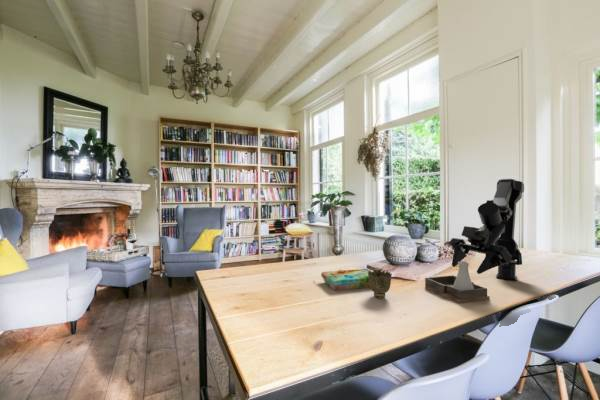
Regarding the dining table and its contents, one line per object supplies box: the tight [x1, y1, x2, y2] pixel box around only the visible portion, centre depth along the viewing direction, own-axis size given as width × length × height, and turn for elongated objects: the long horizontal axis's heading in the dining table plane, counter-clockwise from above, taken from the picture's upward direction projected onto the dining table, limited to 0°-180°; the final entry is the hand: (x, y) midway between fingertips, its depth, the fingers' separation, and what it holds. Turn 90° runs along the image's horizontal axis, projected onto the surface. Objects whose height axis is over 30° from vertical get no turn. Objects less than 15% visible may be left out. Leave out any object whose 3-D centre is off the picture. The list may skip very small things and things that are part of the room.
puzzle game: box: [321, 268, 374, 291], centre depth 106 cm, size 12×5×20 cm
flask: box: [453, 261, 474, 291], centre depth 93 cm, size 7×7×10 cm
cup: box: [368, 269, 393, 299], centre depth 93 cm, size 8×7×8 cm
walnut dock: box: [424, 274, 491, 304], centre depth 96 cm, size 15×12×4 cm
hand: (464, 269), depth 93 cm, fingers open, 9 cm apart
